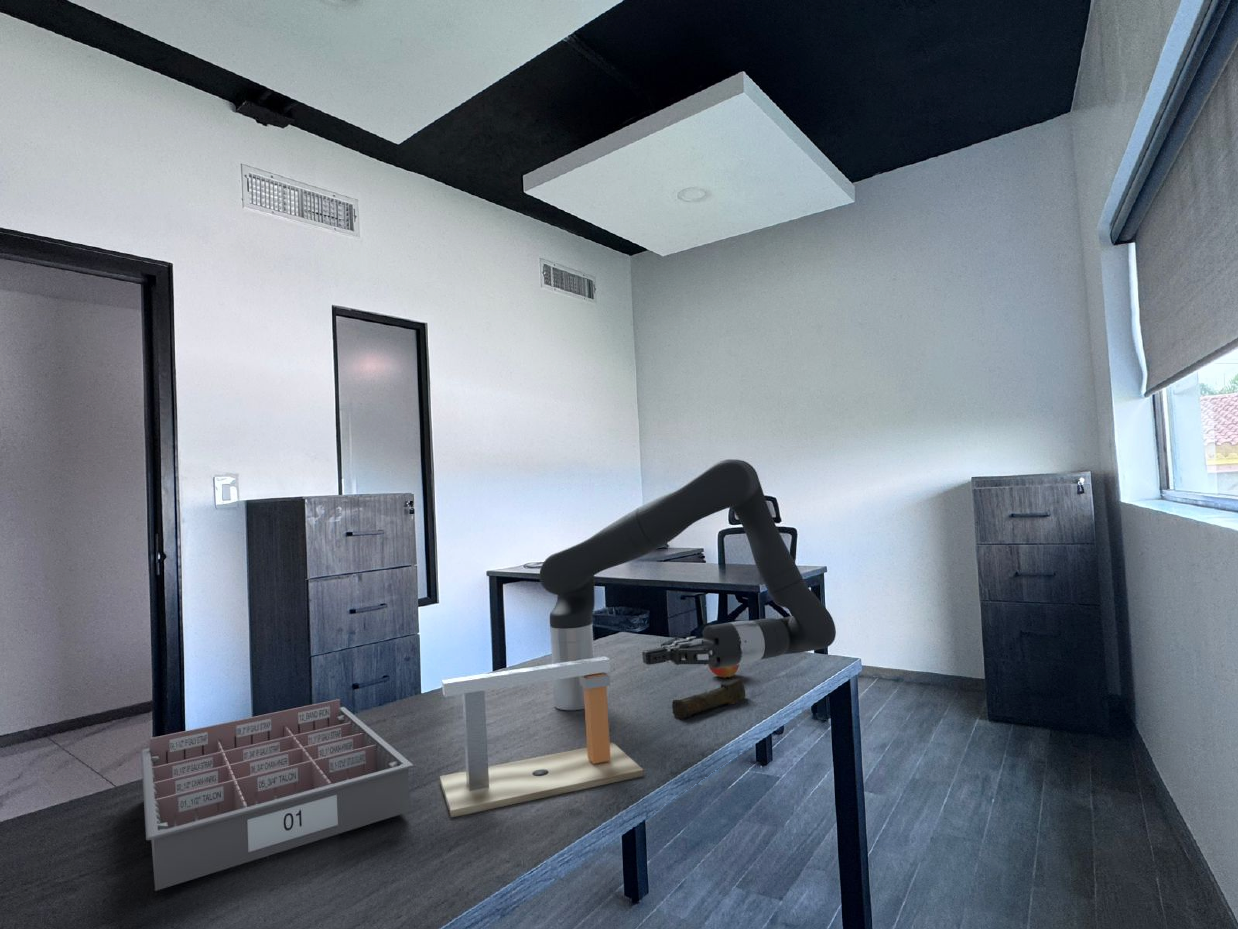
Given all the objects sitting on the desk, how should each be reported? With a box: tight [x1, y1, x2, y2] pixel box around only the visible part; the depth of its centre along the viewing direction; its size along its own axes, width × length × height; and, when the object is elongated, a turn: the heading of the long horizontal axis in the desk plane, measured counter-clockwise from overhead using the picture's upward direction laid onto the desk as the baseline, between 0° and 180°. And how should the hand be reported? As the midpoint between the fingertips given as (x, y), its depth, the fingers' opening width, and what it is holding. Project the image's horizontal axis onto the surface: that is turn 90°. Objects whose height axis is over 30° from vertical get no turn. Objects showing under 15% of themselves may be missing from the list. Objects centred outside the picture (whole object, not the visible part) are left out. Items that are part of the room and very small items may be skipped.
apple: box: [707, 664, 740, 679], centre depth 168 cm, size 8×8×10 cm
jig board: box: [439, 742, 645, 818], centre depth 112 cm, size 14×30×1 cm, turn 111°
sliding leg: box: [579, 672, 611, 764], centre depth 116 cm, size 4×4×14 cm
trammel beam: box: [441, 656, 611, 791], centre depth 112 cm, size 3×27×17 cm, turn 111°
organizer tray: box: [140, 698, 415, 892], centre depth 108 cm, size 32×40×10 cm
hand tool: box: [671, 678, 746, 720], centre depth 144 cm, size 19×4×5 cm, turn 124°
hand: (644, 658), depth 120 cm, fingers closed
